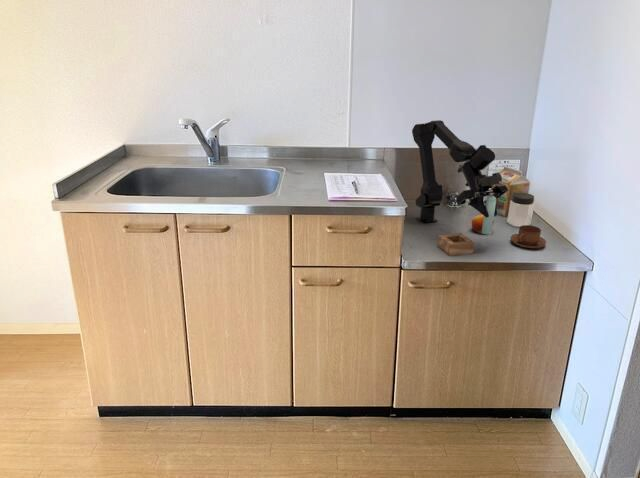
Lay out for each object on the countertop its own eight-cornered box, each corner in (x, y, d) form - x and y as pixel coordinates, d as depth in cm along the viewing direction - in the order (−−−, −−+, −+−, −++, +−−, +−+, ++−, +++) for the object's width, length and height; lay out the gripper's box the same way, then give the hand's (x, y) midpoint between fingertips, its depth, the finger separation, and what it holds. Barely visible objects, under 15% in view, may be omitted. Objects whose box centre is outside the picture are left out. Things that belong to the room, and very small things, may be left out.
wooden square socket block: (437, 245, 179) (438, 235, 178) (459, 243, 181) (461, 233, 180) (450, 255, 171) (451, 245, 170) (473, 252, 173) (474, 242, 172)
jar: (523, 229, 194) (528, 200, 190) (503, 223, 200) (508, 195, 195) (533, 223, 200) (538, 195, 195) (514, 218, 206) (518, 190, 201)
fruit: (481, 234, 186) (477, 213, 187) (470, 237, 193) (466, 217, 194) (500, 232, 188) (496, 211, 189) (488, 235, 195) (484, 215, 196)
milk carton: (524, 214, 211) (532, 170, 203) (504, 217, 207) (511, 173, 200) (507, 206, 220) (514, 164, 212) (488, 209, 216) (494, 167, 209)
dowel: (479, 231, 174) (485, 194, 168) (488, 230, 174) (493, 193, 169) (484, 234, 171) (490, 197, 165) (493, 234, 171) (498, 196, 166)
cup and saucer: (541, 253, 173) (544, 237, 171) (506, 246, 179) (509, 230, 177) (547, 242, 182) (550, 227, 180) (514, 235, 188) (516, 220, 186)
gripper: (465, 167, 163) (484, 209, 158) (508, 162, 170) (527, 201, 165) (447, 184, 173) (465, 224, 168) (489, 178, 180) (507, 216, 175)
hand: (491, 216), depth 169 cm, fingers closed on dowel, 3 cm apart
